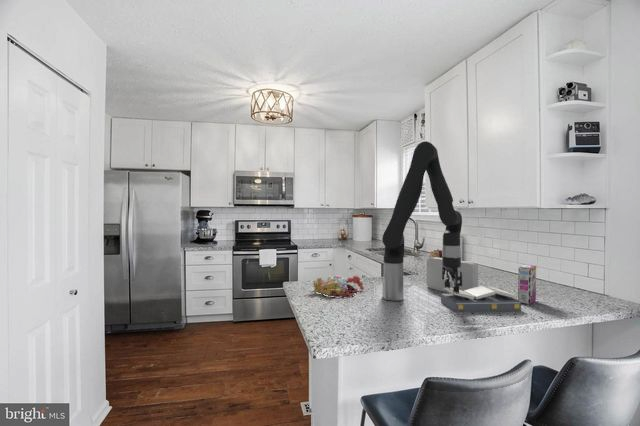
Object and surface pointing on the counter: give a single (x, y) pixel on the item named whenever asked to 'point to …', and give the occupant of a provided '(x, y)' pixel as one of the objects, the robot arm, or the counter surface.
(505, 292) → the rocker
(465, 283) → the upright grey rectangular panel
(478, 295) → the rocker
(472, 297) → the rocker
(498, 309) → the tray
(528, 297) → the candy bar box
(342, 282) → the colourful mixed pile
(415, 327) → the counter surface
